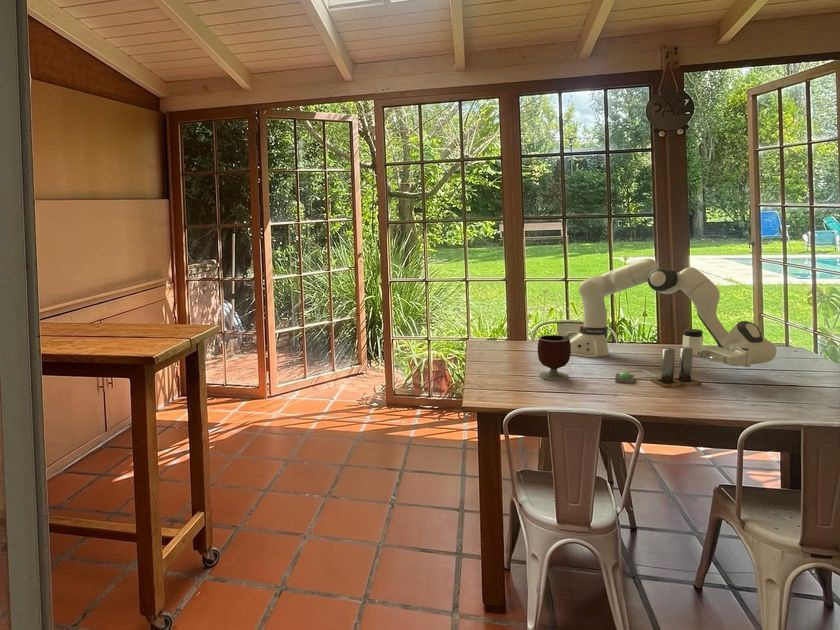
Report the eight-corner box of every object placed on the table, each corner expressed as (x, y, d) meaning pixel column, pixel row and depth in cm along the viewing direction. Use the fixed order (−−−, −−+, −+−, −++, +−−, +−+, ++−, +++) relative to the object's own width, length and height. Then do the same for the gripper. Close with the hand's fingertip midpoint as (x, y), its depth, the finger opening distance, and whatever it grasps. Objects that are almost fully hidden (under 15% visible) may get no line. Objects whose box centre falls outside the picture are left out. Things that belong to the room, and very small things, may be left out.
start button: (619, 383, 216) (619, 374, 216) (619, 380, 220) (620, 371, 219) (629, 384, 215) (630, 375, 214) (630, 381, 219) (630, 372, 218)
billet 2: (678, 383, 212) (680, 349, 209) (678, 380, 216) (680, 346, 213) (691, 384, 210) (693, 349, 208) (690, 381, 214) (692, 347, 212)
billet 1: (661, 384, 211) (662, 350, 208) (660, 381, 215) (662, 347, 212) (673, 385, 209) (675, 350, 207) (672, 382, 213) (674, 348, 211)
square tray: (632, 381, 220) (632, 378, 220) (619, 374, 231) (619, 371, 231) (657, 379, 221) (657, 376, 221) (643, 372, 232) (643, 369, 232)
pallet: (663, 390, 207) (663, 385, 207) (650, 384, 216) (650, 378, 216) (701, 387, 209) (701, 382, 209) (687, 381, 218) (687, 376, 218)
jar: (686, 351, 269) (688, 327, 267) (704, 353, 263) (705, 329, 261) (679, 354, 263) (681, 330, 261) (697, 357, 257) (698, 332, 255)
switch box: (615, 385, 216) (615, 378, 215) (615, 380, 222) (616, 373, 222) (633, 386, 213) (633, 379, 213) (634, 382, 219) (634, 374, 219)
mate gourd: (534, 379, 227) (535, 333, 223) (539, 371, 239) (540, 327, 236) (572, 382, 221) (573, 335, 218) (575, 373, 234) (576, 329, 231)
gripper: (718, 341, 223) (687, 343, 221) (754, 351, 203) (720, 354, 201) (717, 356, 224) (687, 358, 222) (753, 368, 204) (720, 370, 202)
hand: (703, 356), depth 212 cm, fingers open, 8 cm apart
